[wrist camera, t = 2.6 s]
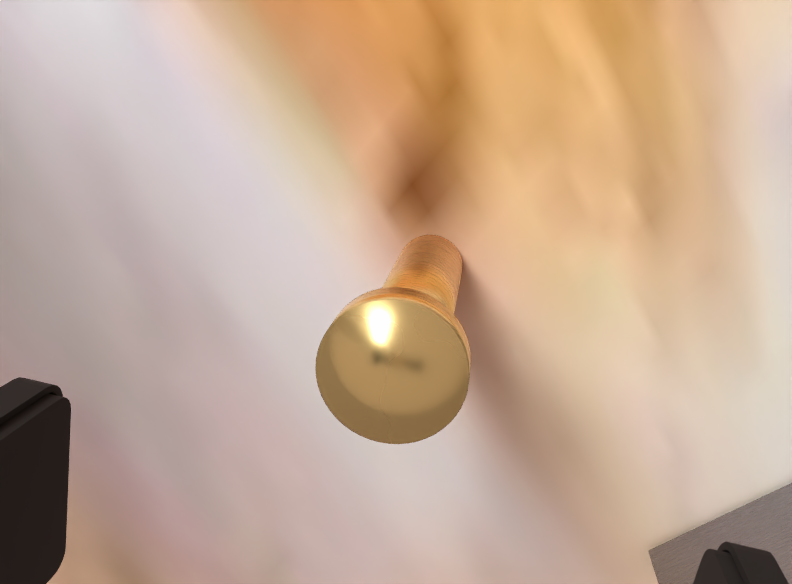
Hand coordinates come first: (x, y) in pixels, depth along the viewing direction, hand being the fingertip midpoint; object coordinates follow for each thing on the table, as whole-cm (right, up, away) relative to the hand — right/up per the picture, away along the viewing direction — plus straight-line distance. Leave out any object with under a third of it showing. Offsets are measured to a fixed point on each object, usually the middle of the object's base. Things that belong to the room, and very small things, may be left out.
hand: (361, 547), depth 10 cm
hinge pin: (+2, +5, +15) cm, 15 cm away
